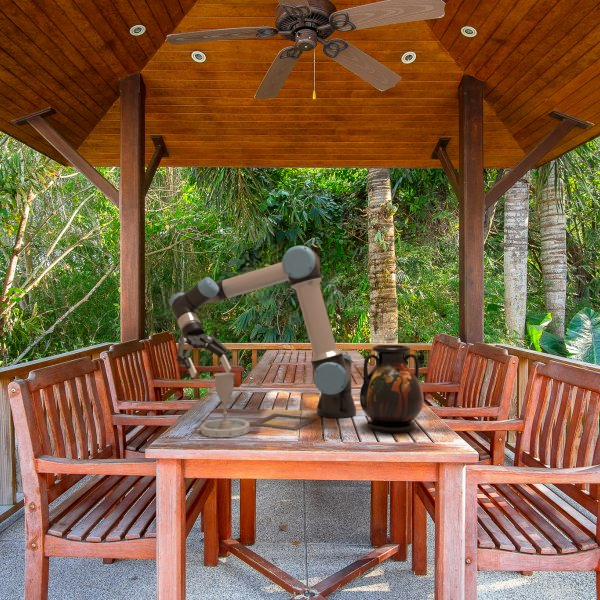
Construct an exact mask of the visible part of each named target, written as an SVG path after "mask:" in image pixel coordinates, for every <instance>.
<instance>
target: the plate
mask: <svg viewBox="0 0 600 600" xmlns="http://www.w3.org/2000/svg"><path fill="white" fill-rule="evenodd" d="M222 420H223V418H218V419H217V418H216V419H211V420H207V421H205V422H202V423H201V424H200V426H199V427H200V434H201V433H202V434H203V435H206V436H211V437H233V438H235V437H234V436H239V437H241V436H240V435H243V436H245V435H247V434H249V433H248V432H250V421H247V420H245V419H241V418H227V420H229V421H230V422H231V424H232V427H233V428H232V429H228V430H220V429H218V427H219V424H220V422H221V421H222ZM246 433H247V434H246ZM202 434H201V435H202ZM244 434H245V435H244ZM203 435H202V436H203ZM206 436H205V437H206ZM211 437H210V438H211Z"/></svg>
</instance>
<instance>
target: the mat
mask: <svg viewBox="0 0 600 600" xmlns="http://www.w3.org/2000/svg"><path fill="white" fill-rule="evenodd" d="M278 416H279V417H280V418H287V417H289V419H296V418H299V419H298V420H304V421H302V422H300V423H298V424H296V425H294V426H288V425H287V426H286V425H279V424H278V425H277V424H272V423H271V424H270V423H266V422H269V421H271V420H273V419H274V418H277V417H278ZM279 417H278V418H279ZM272 418H273V419H272ZM305 419H306V420H305ZM317 420H318V418H317V417H311V416H303V415H301V416H300V415H292V414H283V413H282V414H281V413H273V414H270V415H268V416H266V417H264V418H261V419H259V420H256V421H255V422H252V423H250V426H254V425H256V426H257V427H262V426H263V428H264V427H265V428H270V427H272V429H278V428H279V430H280V429H281V430H287V429H288V430H287V431H295V430H296V431H298V430H300V429H302V428H304V427H306V426H307V425H309V424H311V423H312V422H315V421H317ZM305 425H306V426H305ZM256 426H255V427H256ZM303 426H304V427H303ZM301 427H302V428H301ZM299 428H300V429H299ZM297 429H298V430H297Z"/></svg>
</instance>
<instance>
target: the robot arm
mask: <svg viewBox="0 0 600 600" xmlns="http://www.w3.org/2000/svg"><path fill="white" fill-rule="evenodd" d="M320 260H321V259H320V256H319V255H318V254H317V253H316V252H315V251H314V250H313V249H311V248H310V247H307V246H305V245H295V246H292V247H290V248H288V249H287V251H285V253H284V255H283V257H282V261H281V262H277V263H275V264H272V265H268V266H265V267H262V268H258V269H255V270H252V271H248V272H246V273H242V274H240V275H236V276H233V277H230V278H229V277H228V278H226V279H223V280H220V281H216V282H215V280H214V279H212V278H211V277H209V276H206V277H204V278H203V279H201V280H199V281H198V282H197V283H196V284H195V285H194V286H193V287H191V288H190V289H189V290H188V291H186V293H185V292H184V291H183V292H182V291H180V292H177V293H174V294H173V295H171V296H170V298H169V306H170V310H171V311H172V314H173V316H174V317H175V320H176V322H177V324H178V325H177V326H178V327H179V329H180V331H181V334H182V335H181V336H180V337H179V338H178V341H177V343H178V349H177V357H176V361H177V362H181V364H182V365H184V367H185V369H187V370H188V372H189V374H190V376H191V378H192V379H194V378H195V377H196V375H197V373H198V371H197V369H196V367H195V366H194V365H195V364H194V363H193V360H192V359H191V357H189V356H190V354H191V352H192V350H193V349H195V350H198V349H204V350H206V351H207V350H208V351H209V352H211V353H212V354H214V355H216V356H217V357H219V358H220V359H219V360H220V363H221V365H222V366H223V367H222V368H223V369H224V371H225V373H231V370H232V367H231V365H230V360H229V355H230V352H231V350H229V349H228V348H227V347H226V346H225V345H224V344H222V343H221V342H220V341H219V340H218V339H217V338H216V336H215V334H210V335H209V336H207V335H206V334H205V330H204V327H203V325H202V323H201V320H200V319H199V317H198V315H197V312H196V311H197V310H199V309H200V308H202V306H204V305H205V304H207V303H221V302H223V301H224V300H227V299H230V298H234V297H237V296H241V295H244V294H247V293H250V292H253V291H257V290H261V289H263V288H268V287H271V286H273V285H274V286H275V285H277V284H280V283H284V282H289V286H290V288H291V289H293V290H295V291H296V294H297V299H298V303H299V306H300V310H301V313H302V316H303V320H304V324H305V327H306V331H307V336H308V338H309V343H310V347H311V350H312V354H313V355H312V357H311V359H310V362H311V363H310V364H311V366H312V367H311V368H312V369H313V382H314V385H315V387H316V389H317V390H318V391H320V396H319V399H318V403H317V405H316V414H317V415H318V416H319V417H323V418H324V417H325V418H330V419H331V418H332V419H334V418H335V419H342V418H350V417H351V418H352V417H354V416H356V415H357V406H356V404H355V400H354V398H353V394H352V362H353V361H352V356H351V355H350V354H347V353H343V351H342V350H340V349H339V348H337V345H336V341H335V337H334V335H333V334H334V333H333V331H332V328H331V327H332V326H331V323H330V319H329V316H328V312H327V309H326V305H325V301H324V297H323V294H322V290H321V287H320V283H321V281H322V274H321V271H320V268H321V261H320ZM185 344H186V345H187V344H188V345H189V346H188V348H187V351H186V352H185V354H184V355H183V353H184V347H185Z"/></svg>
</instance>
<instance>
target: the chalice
mask: <svg viewBox="0 0 600 600" xmlns="http://www.w3.org/2000/svg"><path fill="white" fill-rule="evenodd" d="M235 374H236V373H235V372H229V373H226V372H217V373H214V374H213V377H214V379H215V392H216V395H217V397H218V399H219V400H220V402H221V403H223V405H222V409H223V412H222V415H223V418H222V419H223V420H222V421H221V422H220V424H219V427H218V429H220V430H228V429H232V428H233V427H232V424H231V422H230V421H229V420H227V419H228V417H227V415H228V413H229V412H228V411H227V410H228V406H227V402H229V401H230V399H231V396H232V394H233V393H234V388H235V387H234V385H235V384H234V377H235Z"/></svg>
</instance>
